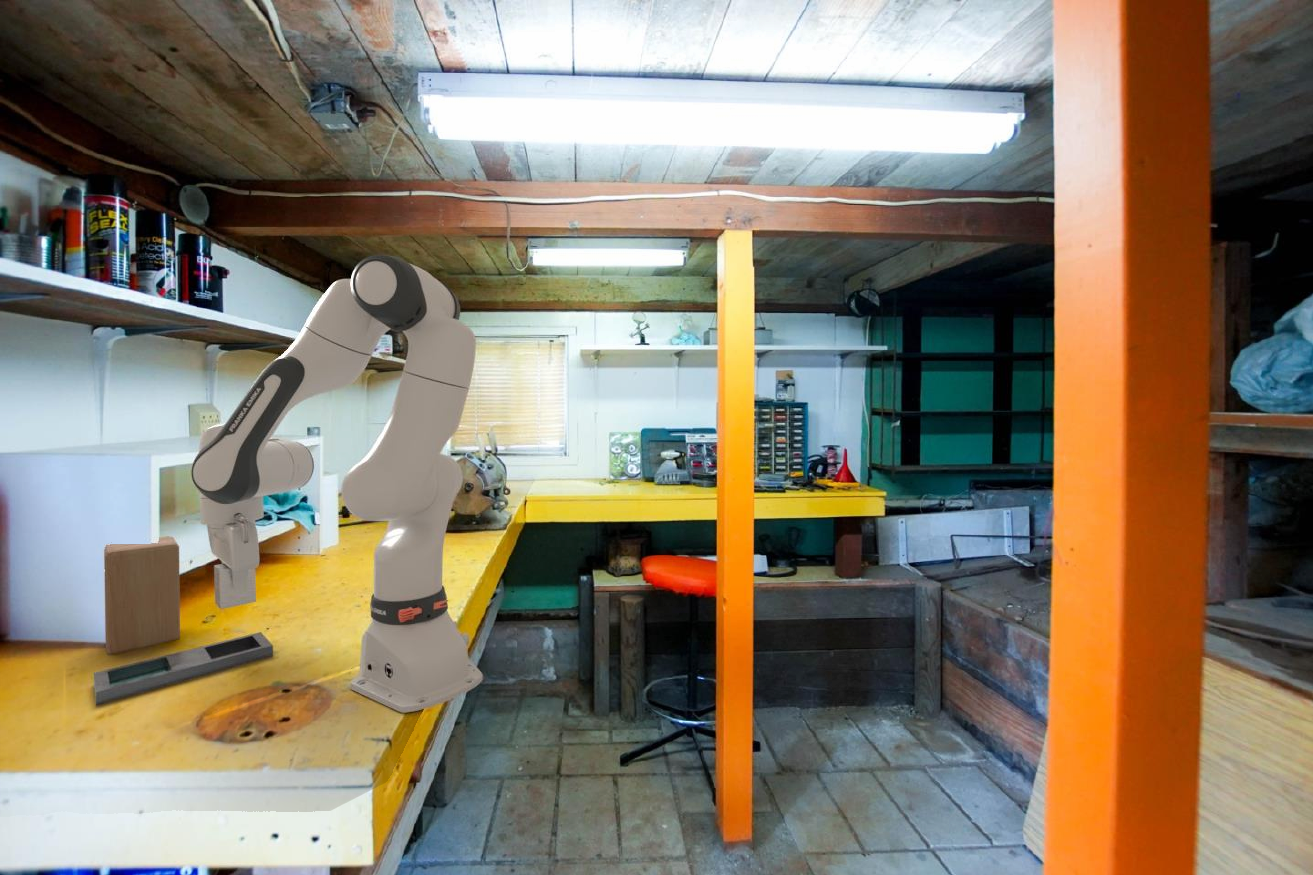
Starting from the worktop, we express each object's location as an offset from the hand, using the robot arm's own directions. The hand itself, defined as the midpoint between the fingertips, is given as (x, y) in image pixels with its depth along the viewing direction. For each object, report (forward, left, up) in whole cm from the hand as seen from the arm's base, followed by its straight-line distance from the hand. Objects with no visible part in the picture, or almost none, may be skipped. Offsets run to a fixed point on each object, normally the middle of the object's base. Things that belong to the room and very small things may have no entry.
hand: (235, 585), depth 92 cm
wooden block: (+23, +10, -14) cm, 29 cm away
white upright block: (0, 0, -3) cm, 3 cm away
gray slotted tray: (0, +6, -14) cm, 15 cm away
